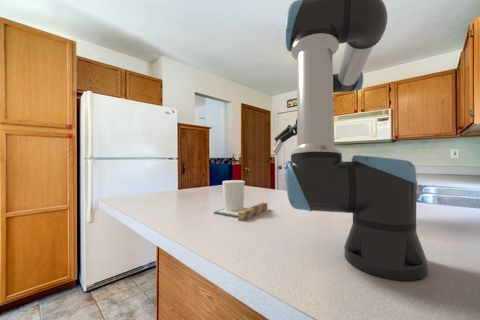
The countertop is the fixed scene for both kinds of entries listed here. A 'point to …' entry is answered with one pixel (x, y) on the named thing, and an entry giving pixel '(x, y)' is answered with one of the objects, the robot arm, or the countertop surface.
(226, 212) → the square tile
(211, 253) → the countertop surface
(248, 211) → the brown wooden bar
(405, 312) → the countertop surface
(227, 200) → the candle holder
